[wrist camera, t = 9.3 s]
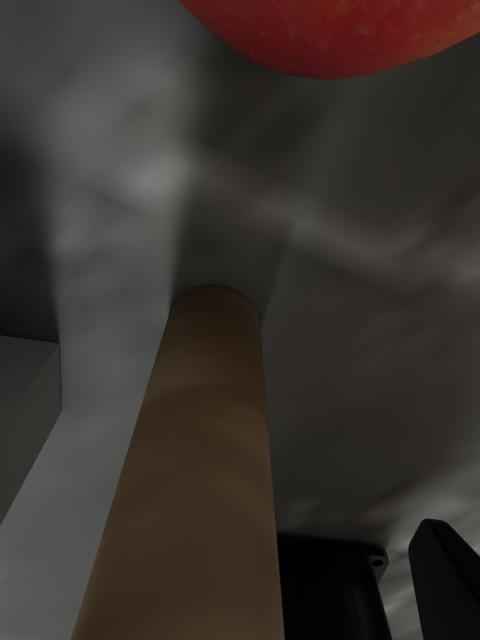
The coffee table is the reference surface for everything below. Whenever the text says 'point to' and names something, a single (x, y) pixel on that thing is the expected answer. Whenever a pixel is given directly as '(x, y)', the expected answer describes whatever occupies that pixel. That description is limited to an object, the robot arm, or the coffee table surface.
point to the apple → (337, 32)
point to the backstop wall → (25, 408)
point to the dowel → (194, 491)
